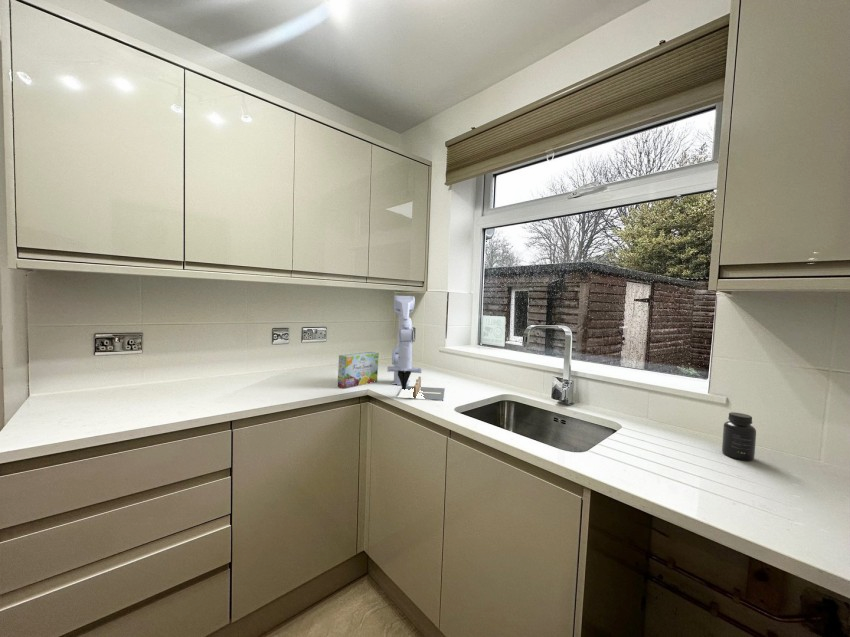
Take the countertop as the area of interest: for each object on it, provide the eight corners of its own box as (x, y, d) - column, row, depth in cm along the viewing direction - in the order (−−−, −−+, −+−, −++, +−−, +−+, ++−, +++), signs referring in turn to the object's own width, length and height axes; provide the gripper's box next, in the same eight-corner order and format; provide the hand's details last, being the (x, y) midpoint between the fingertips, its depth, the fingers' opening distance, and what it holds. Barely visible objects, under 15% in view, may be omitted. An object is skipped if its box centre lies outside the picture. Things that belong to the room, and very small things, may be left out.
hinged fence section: (415, 391, 151) (416, 381, 151) (418, 391, 151) (418, 381, 151) (413, 397, 142) (413, 386, 141) (416, 397, 141) (416, 387, 141)
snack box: (345, 389, 155) (345, 356, 154) (337, 387, 158) (338, 354, 157) (378, 381, 171) (379, 352, 171) (370, 380, 175) (371, 351, 174)
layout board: (403, 386, 163) (403, 374, 163) (444, 389, 161) (445, 376, 161) (395, 397, 143) (396, 383, 143) (443, 400, 141) (443, 386, 141)
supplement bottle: (718, 449, 101) (721, 409, 100) (749, 455, 97) (752, 413, 97) (724, 457, 95) (728, 415, 94) (758, 464, 91) (761, 420, 91)
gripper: (386, 357, 141) (385, 390, 141) (421, 359, 139) (419, 392, 140) (389, 355, 148) (388, 386, 148) (422, 357, 146) (421, 388, 147)
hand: (403, 388), depth 144 cm, fingers closed
